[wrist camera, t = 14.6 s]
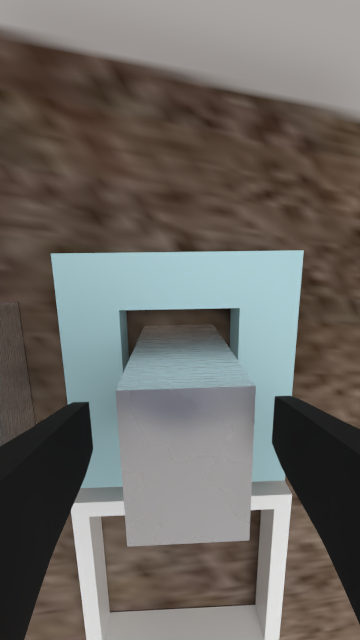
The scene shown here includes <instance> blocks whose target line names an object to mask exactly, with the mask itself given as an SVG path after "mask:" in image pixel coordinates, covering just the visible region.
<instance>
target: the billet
mask: <svg viewBox="0 0 360 640" xmlns="http://www.w3.org/2000/svg"><path fill="white" fill-rule="evenodd" d="M115 393H116V406H117V419H118V432H119V445H120V458H121V471H122V484H123V497H124V510H125V523H126V536H127V546H147V545H168V544H188V543H208V542H228V541H249V535H250V512H251V488H252V465H253V442H254V418H255V395H256V385H255V384H254V383H253V381H252V380H251V378H250V377H249V375H248V374H247V372H246V371H245V370H244V368H243V367H242V365H241V364H240V362H239V361H238V360H237V358H236V357H235V355H234V354H233V352H232V351H231V350H230V348H229V347H228V345H227V344H226V342H225V341H224V340H223V338H222V337H221V335H220V334H219V332H218V331H217V330H216V328H215V327H214V325H213V324H200V325H163V326H144V328H143V330H142V332H141V334H140V337H139V339H138V341H137V343H136V345H135V348H134V350H133V352H132V354H131V357H130V359H129V361H128V363H127V366H126V368H125V370H124V372H123V375H122V377H121V379H120V381H119V383H118V386H117V388H116V390H115Z"/></svg>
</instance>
